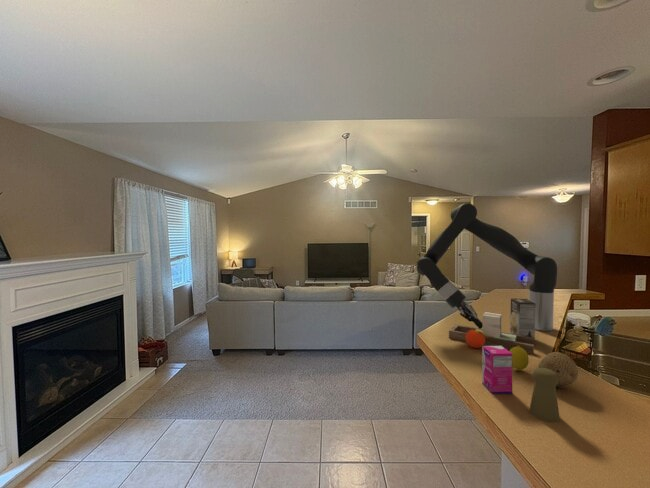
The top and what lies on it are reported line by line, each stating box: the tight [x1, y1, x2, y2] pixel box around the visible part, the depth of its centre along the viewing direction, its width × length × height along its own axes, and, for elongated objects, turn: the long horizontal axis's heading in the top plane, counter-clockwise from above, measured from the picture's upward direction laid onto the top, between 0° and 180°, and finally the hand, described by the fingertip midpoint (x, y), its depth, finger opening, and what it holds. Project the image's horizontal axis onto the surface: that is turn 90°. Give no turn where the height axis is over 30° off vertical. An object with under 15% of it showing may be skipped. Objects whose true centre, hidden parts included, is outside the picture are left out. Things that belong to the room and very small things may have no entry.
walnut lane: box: [448, 324, 536, 355], centre depth 124 cm, size 11×30×3 cm, turn 54°
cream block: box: [481, 311, 502, 338], centre depth 123 cm, size 6×6×8 cm
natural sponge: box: [538, 351, 579, 389], centre depth 87 cm, size 9×9×10 cm
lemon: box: [508, 346, 530, 372], centre depth 97 cm, size 6×6×8 cm
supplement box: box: [481, 345, 513, 395], centre depth 86 cm, size 6×6×12 cm
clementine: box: [465, 329, 488, 349], centre depth 117 cm, size 8×7×7 cm
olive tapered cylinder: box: [528, 367, 561, 423], centre depth 74 cm, size 6×6×11 cm
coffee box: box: [509, 297, 536, 337], centre depth 127 cm, size 9×6×16 cm
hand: (482, 327), depth 126 cm, fingers closed
